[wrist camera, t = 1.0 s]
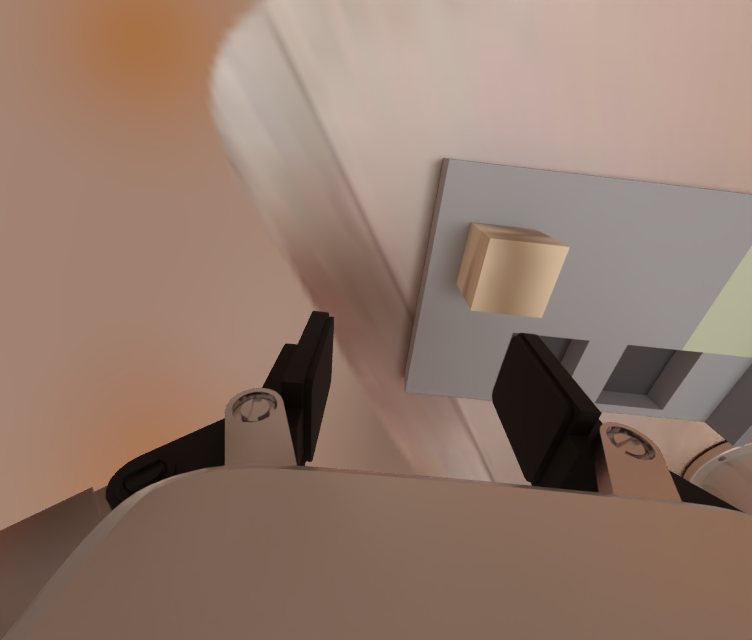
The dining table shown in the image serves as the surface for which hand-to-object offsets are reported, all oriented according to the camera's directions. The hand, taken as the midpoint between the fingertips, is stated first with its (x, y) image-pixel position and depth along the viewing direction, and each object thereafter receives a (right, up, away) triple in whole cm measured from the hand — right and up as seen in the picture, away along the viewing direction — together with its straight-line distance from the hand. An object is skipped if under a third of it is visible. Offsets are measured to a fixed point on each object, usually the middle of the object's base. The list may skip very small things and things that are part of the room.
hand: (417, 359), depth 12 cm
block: (+8, +6, +14) cm, 17 cm away
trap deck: (+18, +3, +18) cm, 26 cm away
